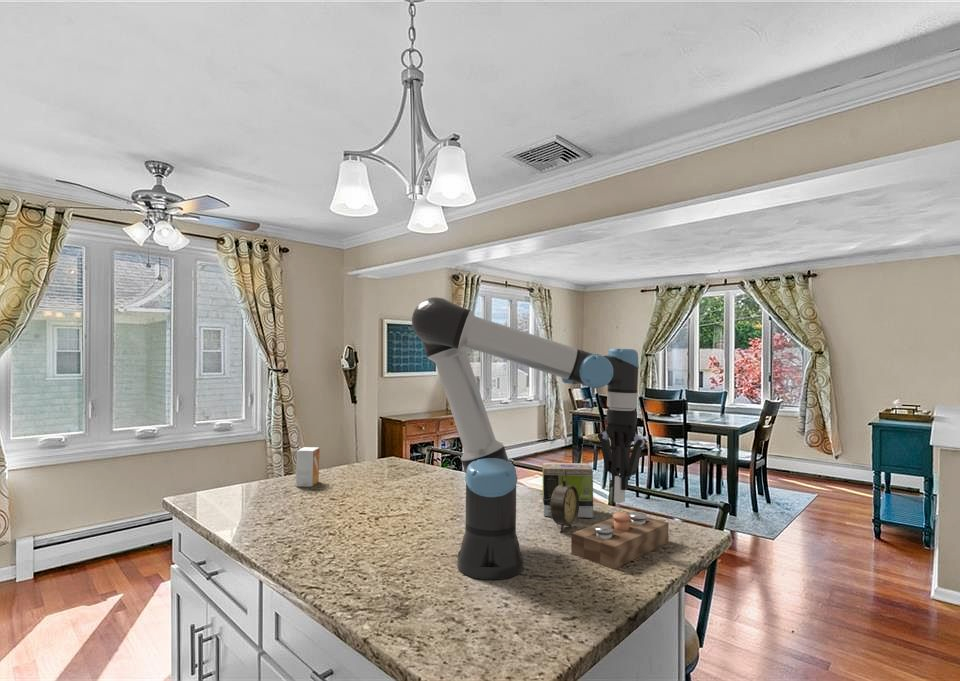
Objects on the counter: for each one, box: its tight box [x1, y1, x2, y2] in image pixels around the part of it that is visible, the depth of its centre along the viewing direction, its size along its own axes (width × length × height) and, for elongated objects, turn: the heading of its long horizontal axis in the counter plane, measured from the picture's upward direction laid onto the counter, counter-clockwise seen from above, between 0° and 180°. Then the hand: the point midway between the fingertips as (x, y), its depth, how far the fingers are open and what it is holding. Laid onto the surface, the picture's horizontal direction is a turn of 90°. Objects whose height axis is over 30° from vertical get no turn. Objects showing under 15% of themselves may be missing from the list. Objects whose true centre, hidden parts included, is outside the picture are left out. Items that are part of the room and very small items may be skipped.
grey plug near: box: [595, 525, 613, 540], centre depth 124 cm, size 4×4×5 cm
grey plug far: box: [629, 511, 648, 525], centre depth 135 cm, size 4×4×5 cm
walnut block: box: [570, 512, 669, 570], centre depth 130 cm, size 26×12×5 cm, turn 133°
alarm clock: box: [550, 470, 579, 534], centre depth 144 cm, size 11×5×16 cm, turn 147°
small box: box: [295, 446, 321, 488], centre depth 189 cm, size 8×6×13 cm
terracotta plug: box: [612, 512, 631, 532], centre depth 130 cm, size 4×4×5 cm
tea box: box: [542, 462, 594, 519], centre depth 158 cm, size 15×10×15 cm
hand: (619, 501), depth 130 cm, fingers closed
